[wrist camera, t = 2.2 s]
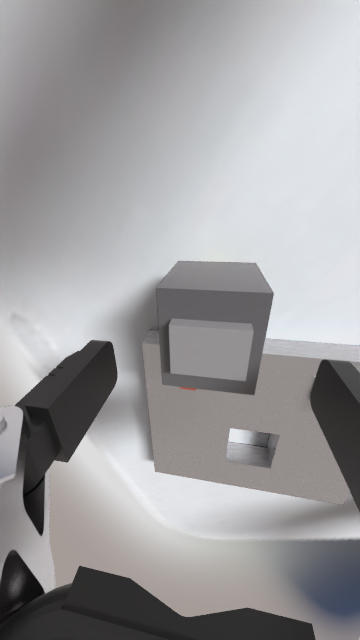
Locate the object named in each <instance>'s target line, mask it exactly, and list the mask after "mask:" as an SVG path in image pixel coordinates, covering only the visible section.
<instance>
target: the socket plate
mask: <svg viewBox="0 0 360 640" xmlns="http://www.w3.org/2000/svg"><path fill="white" fill-rule="evenodd" d="M142 351H143V361H144V371H145V380H146V390H147V399H148V409H149V418H150V428H151V438H152V447H153V457H154V466H155V472H160V473H166V474H171V475H177V476H183V477H188V478H194V479H200V480H205V481H211V482H216V483H222V484H228V485H233V486H239V487H245V488H250V489H256V490H261V491H267V492H273V493H278V494H284V495H290V496H295V497H301V498H306V499H312V500H318V501H323V502H329V503H334V504H340V505H343V504H344V502H345V500H346V499H347V497H348V495H349V494H350V490H349V488H348V486H347V483H346V481H345V479H344V477H343V475H342V473H341V471H340V468H339V466H338V464H337V462H336V460H335V458H334V455H333V453H332V451H331V449H330V447H329V445H328V443H327V440H326V438H325V436H324V434H323V432H322V430H321V428H320V425H319V423H318V421H317V419H316V417H315V415H314V413H313V410H312V408H311V403H310V393H311V390H312V386H313V383H314V380H315V377H316V374H317V371H318V367H319V364H320V362H321V361H322V360H324V359H328V360H341V361H349V362H351V363H352V364H353V366H354V367H355V368H356V369H357V370H358V371H359V372H360V346H354V345H341V344H328V343H315V342H302V341H289V340H275V339H265V342H264V347H263V353H262V358H261V363H260V368H259V374H258V379H257V384H256V390H255V395H247V394H238V393H230V392H221V391H212V390H203V389H195V388H186V387H177V386H168V385H162V376H161V360H160V344H159V331H157V330H149V332H148V333H147V335H146V337H145V338H144V340H143V342H142ZM230 428H235V429H242V430H249V431H256V432H263V433H270V436H269V440H268V444H267V447H260V446H253V445H246V444H240V443H233V442H228V438H229V430H230Z"/></svg>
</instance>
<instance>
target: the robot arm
mask: <svg viewBox="0 0 360 640" xmlns="http://www.w3.org/2000/svg"><path fill="white" fill-rule="evenodd" d="M116 381H117V367H116V361H115V355H114V349H113V345H112V343H111V342H109V341H97V340H92V341H90V342H89V343H88V344H87V345H86V346H85V347H84V348H83V349H82V350H81V351H77V352H76V353H74V354H72V355H70V356H68V357H67V358H65V359H64V360H63V361H62V362H61V363H60V364H59V365H58V366H57V368H54V369H53V370H52V371H51V372H50V373H49V375H48V376H46V377H45V378H44V379H43V380H42V381H40V382H39V383H38V384H37V385H36V386H35V387H34V388H33V389H32V390H31V391H30V392H29V393H28V394H27V395H25V397H23V398H22V399H21V400H20V401H19V402H18V403H17V404H16V405H15V406H4V407H0V640H315V635H314V631H313V627H312V624H311V623H307V622H303V621H299V620H295V619H291V618H287V617H283V616H278V615H275V614H271V613H266V612H262V611H258V610H255V609H251V608H243V609H237V610H231V611H225V612H219V613H213V614H207V615H201V616H195V617H184V616H181V615H179V614H178V613H176V612H175V611H173V610H172V609H171V608H169V607H168V606H166V605H165V604H164V603H163V602H161V601H160V600H159V599H157V598H156V597H154V596H153V595H152V594H150V593H149V592H148V591H146V590H145V589H144V588H142V587H141V586H139V585H138V584H137V583H135V582H134V581H133V580H131V579H130V578H126V577H122V576H118V575H114V574H110V573H106V572H102V571H98V570H94V569H90V568H86V567H82V566H79V568H78V570H77V573H76V575H75V578H74V580H73V583H71V584H68V585H64V586H61V587H58V588H55V573H54V564H53V558H52V554H51V550H50V542H49V487H50V486H49V485H50V484H49V483H50V479H49V478H50V476H49V471H48V469H49V467H50V466H51V464H52V462H53V461H54V460H57V461H62V462H68V461H69V460H70V458H71V456H72V455H73V453H74V452H75V450H76V448H77V447H78V445H79V443H80V442H81V440H82V439H83V437H84V435H85V434H86V432H87V430H88V429H89V427H90V426H91V424H92V422H93V421H94V419H95V417H96V416H97V414H98V413H99V411H100V409H101V408H102V406H103V404H104V403H105V401H106V399H107V398H108V396H109V395H110V393H111V391H112V390H113V388H114V386H115V384H116ZM310 403H311V408H312V410H313V413H314V415H315V417H316V419H317V421H318V423H319V425H320V428H321V430H322V432H323V434H324V436H325V438H326V440H327V443H328V445H329V447H330V449H331V451H332V453H333V455H334V458H335V460H336V462H337V464H338V466H339V468H340V471H341V473H342V475H343V477H344V479H345V481H346V483H347V486H348V488H349V490H350V492H351V494H352V496H353V498H354V501H355V503H356V505H357V507H358V509H359V511H360V372H359V371H358V370H357V369H356V368H355V367H354V366H353V364H352V363H351V362H349V361H341V360H328V359H324V360H322V361H321V362H320V364H319V367H318V371H317V374H316V377H315V380H314V383H313V386H312V390H311V393H310ZM359 640H360V638H359Z"/></svg>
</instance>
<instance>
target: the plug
mask: <svg viewBox="0 0 360 640" xmlns="http://www.w3.org/2000/svg"><path fill="white" fill-rule="evenodd" d="M273 294H274V293H273V291H272V289H271V288H270V286H269V284H268V283H267V281H266V279H265V278H264V276H263V274H262V273H261V271H260V269H259V268H258V266H257V264H256V263H239V262H199V261H178V262H177V263H176V264H175V265H174V267H173V268H172V269H171V270H170V272H169V273H168V274H167V275H166V276H165V278H164V279H163V280H162V281H161V282H160V284H159V285H158V286H157V287H156V296H157V312H158V328H159V344H160V360H161V376H162V385H168V386H177V387H186V388H195V389H203V390H212V391H221V392H230V393H238V394H247V395H255V390H256V384H257V379H258V374H259V368H260V363H261V358H262V353H263V347H264V342H265V337H266V331H267V326H268V321H269V316H270V310H271V305H272V300H273Z"/></svg>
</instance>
